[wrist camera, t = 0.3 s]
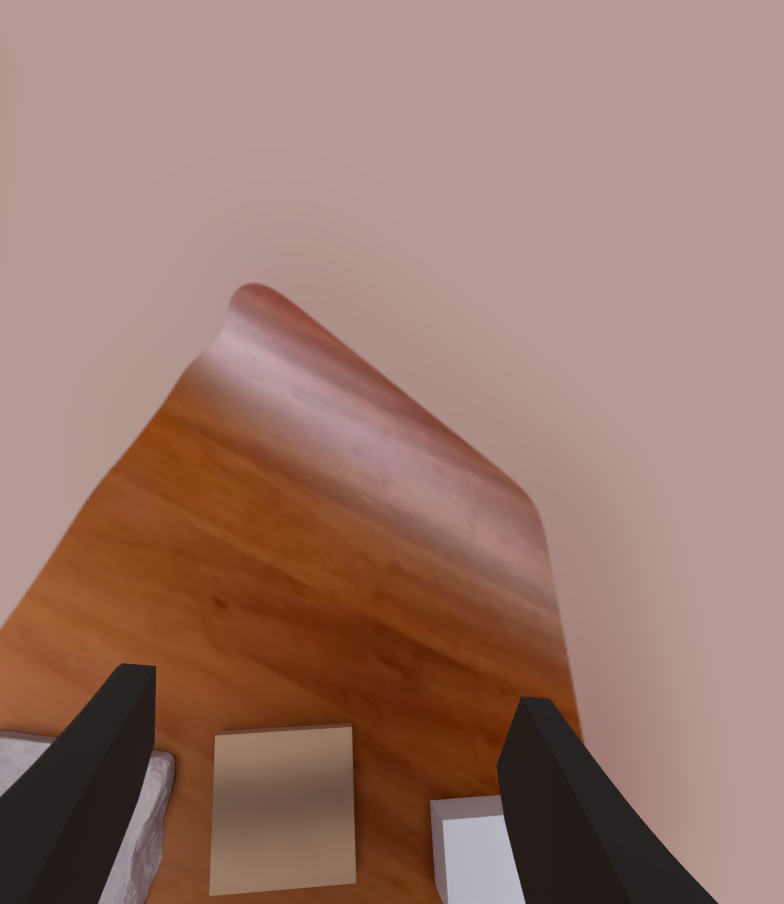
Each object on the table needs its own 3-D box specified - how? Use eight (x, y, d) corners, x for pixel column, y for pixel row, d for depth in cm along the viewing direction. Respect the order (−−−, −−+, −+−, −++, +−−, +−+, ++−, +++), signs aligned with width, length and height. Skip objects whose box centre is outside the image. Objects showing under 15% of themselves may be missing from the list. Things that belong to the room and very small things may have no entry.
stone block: (159, 911, 37) (187, 737, 38) (126, 968, 32) (159, 767, 33) (-38, 887, 37) (-3, 714, 38) (-100, 940, 32) (-58, 740, 33)
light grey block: (508, 878, 37) (533, 910, 32) (435, 884, 37) (449, 918, 32) (500, 794, 39) (523, 813, 34) (429, 800, 38) (442, 820, 33)
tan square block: (355, 866, 37) (356, 883, 34) (219, 877, 36) (209, 896, 33) (351, 721, 39) (351, 726, 37) (224, 729, 39) (215, 735, 36)
